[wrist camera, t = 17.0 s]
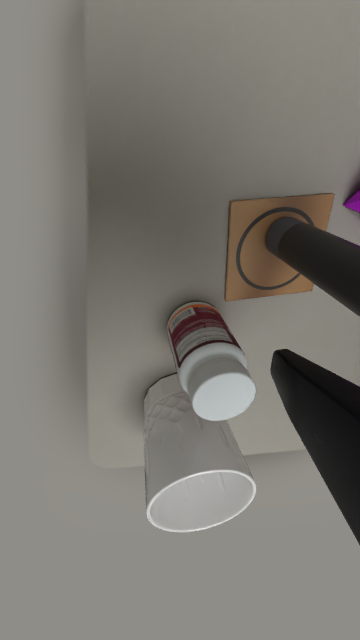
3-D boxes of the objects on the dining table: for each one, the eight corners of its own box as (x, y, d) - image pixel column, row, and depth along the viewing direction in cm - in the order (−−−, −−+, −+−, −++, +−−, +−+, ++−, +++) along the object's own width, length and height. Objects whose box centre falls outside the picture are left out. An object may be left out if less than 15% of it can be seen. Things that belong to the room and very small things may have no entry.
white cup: (135, 426, 30) (141, 539, 21) (141, 367, 26) (153, 476, 17) (207, 423, 31) (240, 525, 23) (224, 367, 27) (270, 465, 19)
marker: (267, 259, 22) (415, 376, 11) (262, 224, 20) (427, 319, 9) (302, 246, 22) (484, 350, 11) (299, 210, 20) (508, 288, 9)
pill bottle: (218, 344, 26) (255, 420, 19) (166, 349, 25) (184, 430, 18) (223, 297, 23) (269, 364, 16) (166, 301, 23) (187, 373, 16)
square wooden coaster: (224, 299, 23) (226, 301, 23) (229, 200, 19) (231, 201, 19) (310, 289, 25) (312, 291, 24) (332, 193, 20) (335, 193, 20)
